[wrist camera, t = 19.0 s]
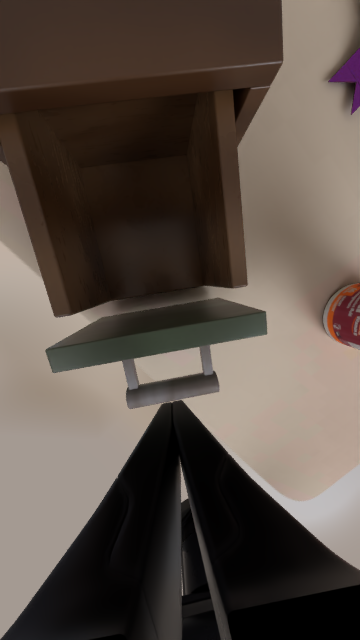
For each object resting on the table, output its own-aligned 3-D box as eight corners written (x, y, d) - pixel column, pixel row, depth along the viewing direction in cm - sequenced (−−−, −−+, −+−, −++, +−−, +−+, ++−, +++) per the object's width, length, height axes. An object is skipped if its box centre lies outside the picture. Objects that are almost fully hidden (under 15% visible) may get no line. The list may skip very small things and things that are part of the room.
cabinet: (211, 194, 16) (284, 62, 6) (71, 214, 15) (-85, 99, 6) (188, -26, 13) (258, -910, 3) (13, -13, 12) (-516, -1051, 3)
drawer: (225, 356, 18) (272, 413, 10) (116, 376, 17) (78, 452, 9) (202, 150, 14) (249, -6, 6) (63, 167, 13) (-66, 19, 6)
